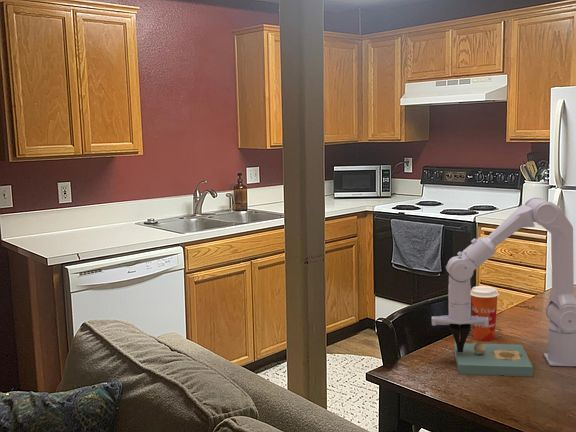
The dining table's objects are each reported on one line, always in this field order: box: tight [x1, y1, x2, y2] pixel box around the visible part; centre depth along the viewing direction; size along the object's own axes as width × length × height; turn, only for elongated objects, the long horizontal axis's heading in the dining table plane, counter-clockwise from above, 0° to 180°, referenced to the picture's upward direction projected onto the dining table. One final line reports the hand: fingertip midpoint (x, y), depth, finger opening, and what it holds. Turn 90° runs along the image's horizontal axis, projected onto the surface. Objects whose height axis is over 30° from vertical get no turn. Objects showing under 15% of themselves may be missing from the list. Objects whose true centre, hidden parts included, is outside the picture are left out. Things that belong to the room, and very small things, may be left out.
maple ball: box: [474, 342, 485, 354], centre depth 164 cm, size 3×3×3 cm
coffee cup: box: [471, 285, 500, 342], centre depth 182 cm, size 8×8×15 cm
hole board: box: [453, 342, 534, 377], centre depth 164 cm, size 18×16×2 cm
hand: (459, 350), depth 165 cm, fingers closed
